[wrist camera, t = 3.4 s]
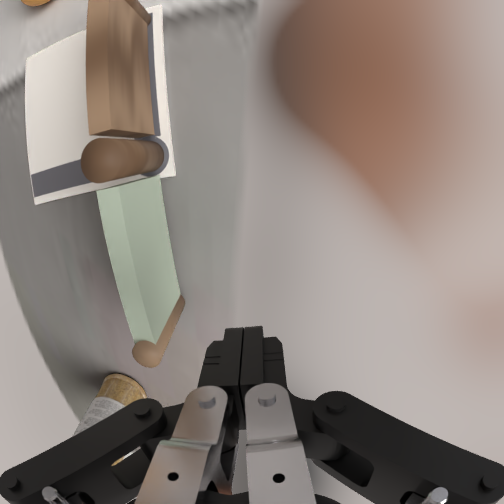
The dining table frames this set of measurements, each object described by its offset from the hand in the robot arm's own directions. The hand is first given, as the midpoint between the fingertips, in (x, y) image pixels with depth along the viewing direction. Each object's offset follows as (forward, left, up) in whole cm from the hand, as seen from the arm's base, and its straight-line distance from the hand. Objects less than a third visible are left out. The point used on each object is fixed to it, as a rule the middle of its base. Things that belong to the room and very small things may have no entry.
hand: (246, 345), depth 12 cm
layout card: (-16, -2, -8) cm, 18 cm away
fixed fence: (-14, +2, -8) cm, 16 cm away
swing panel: (-5, -4, -8) cm, 10 cm away
